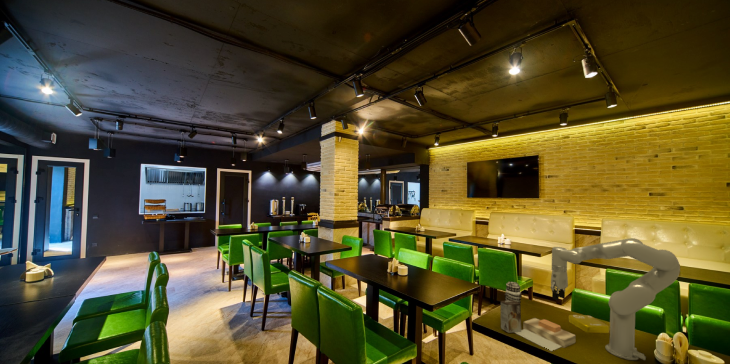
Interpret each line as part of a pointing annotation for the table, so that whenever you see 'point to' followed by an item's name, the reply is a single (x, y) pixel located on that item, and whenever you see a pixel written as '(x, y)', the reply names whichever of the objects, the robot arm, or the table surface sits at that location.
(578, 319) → the element tile
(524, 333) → the mat
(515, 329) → the coffee box
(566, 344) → the beige brown rectangular block
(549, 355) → the table surface
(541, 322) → the orange rectangular block
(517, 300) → the decorative candle
